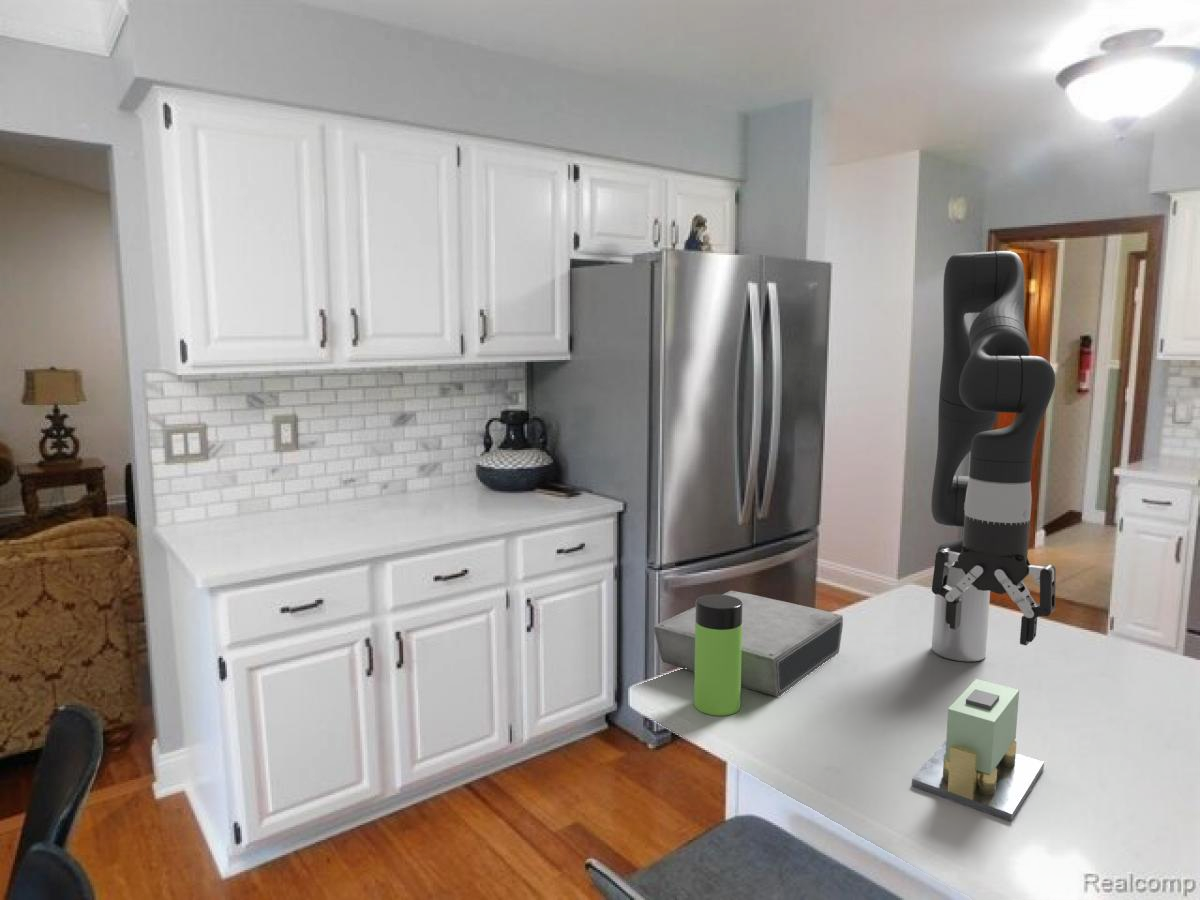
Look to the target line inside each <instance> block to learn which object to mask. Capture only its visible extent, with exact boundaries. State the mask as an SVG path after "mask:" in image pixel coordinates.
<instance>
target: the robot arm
mask: <svg viewBox="0 0 1200 900" xmlns="http://www.w3.org/2000/svg"><path fill="white" fill-rule="evenodd" d="M1024 268H1025V267H1024V264H1023V261H1022V258H1021V257H1020V256H1019V255H1018V254H1017V253H1016V252H1013V251H1008V250H996V251H980V252H978V251H977V252H962V253H955V254H953V255H951V256H950V257H949V258H948V259H947V262H946V265H945V268H944V275H943V291H942V292H943V294H942V295H943V299H942V300H943V302H942V305H943V352H942V362H941V371H940V372H941V375H940V384H939V394H938V395H939V397H938V398H939V399H938V414H937V415H938V416H937V417H938V418H937V419H938V420H937V421H938V423H937V425H938V426H937V432H938V433H937V452H936V459H935V468H934V469H935V470H934V476H933V483H932V484H933V485H932V492H931V513H932V518H933V520H934V521H935V522H936V523H937V524H938V525H939V524H940V525H943V526H951V527H960V528H962V527H963V531H962V533H963V534H962V535H963V536H962V538H958V539H954V540H950V541H945V542H942V543H941V544H940V545H939V546H937V547H938V548H937V552H936V553H935V560H934V568H933V576H932V583H931V591H932V593H933V594H934V603H933V605H934V606H933V619H932V620H933V622H932V623H933V624H932V634H931V635H932V637H931V638H932V639H931V651H933V653H935V654H936V655H938V656H940V657H942V658H945V659H949V660H953V661H958V662H978V661H982V660H984V659H985V658H986V656H987V655H986V654H987V640H988V629H989V628H988V627H989V614H990V613H989V612H990V599H991V598H990V597H991V592H993V593H995V594H997V595H1004V594H1008V596H1009V597H1010V598H1011V601H1012V602H1013V603H1015V604H1016V606H1017V607H1018V608H1019V609H1020V611H1021V612H1022V613H1021V614H1023V615H1022V616H1021V621H1020V622H1021V623H1020V637H1019V645H1022V646H1028V645H1029V644H1030V643H1032V641H1034V639H1035V638H1036V636H1037V628H1038V626H1037V625H1038V617H1049V616H1051V614H1052V613H1054V610H1056V578H1057V577H1056V573H1057V572H1056V567H1055V566H1054V565H1053V564H1046V565H1045V566H1043V565H1042V566H1041V565H1034V564H1031V563H1030V562H1029V561H1030V560H1029V557H1028V554H1029V541H1030V540H1029V539H1030V526H1031V512H1032V500H1033V499H1032V498H1033V497H1032V485H1031V483H1032V471H1033V456H1034V455H1033V454H1034V449H1035V448H1034V447H1035V444H1036V443H1035V442H1036V438H1037V436H1038V431H1039V429H1040V426H1041V423H1042V421H1043V419H1044V416H1045V413H1046V411H1047V408H1048V406H1049V404H1050V401H1051V399H1052V397H1053V393H1054V390H1055V388H1056V387H1055V386H1056V374H1055V370H1054V368H1053V366H1052V365H1051V363H1050V362H1049V361H1048V360H1047V359H1046V358H1044V357H1042V356H1038V355H1031V349H1030V343H1029V339H1028V335H1027V331H1026V328H1025V313H1026V312H1025V308H1026V284H1025V281H1026V280H1025V269H1024ZM976 313H977V314H978V313H979V314H978V315H977V316H976V317H975V319H973V321H972V324H971V326H970V328H968V326H967V323H966V319H965V315H966V314H976ZM999 413H1005V414H1006V413H1011V414H1012V413H1013V414H1018V415H1017V416H1016V418H1015V420H1014V421H1013V422H1012V423H1011V424H1009V425H1008V426H1006V427H1002V428H997V429H993V427H994V426H995V424H996V422H997V420H998V414H999ZM969 453H970V457H969V458H970V459H969V473H968V474H969V475H956V472H957V470H958V469H959V467H960V465H961V463H962V462H963V460H964V459H965V458H966V457H967V456H968V454H969ZM1028 575H1031V576H1032V577H1033V580H1034V582H1035V583H1036V584H1038V585H1039V603H1037V602H1036V601H1035V600H1034V598H1033V597H1032V595H1031V592H1030V590H1029V588H1028V587H1027V585H1026V584H1025V583H1024V579H1025V578H1027V576H1028Z"/></svg>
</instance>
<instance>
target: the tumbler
mask: <svg viewBox="0 0 1200 900" xmlns="http://www.w3.org/2000/svg"><path fill="white" fill-rule="evenodd" d="M695 607H696V614H695V672H694V683H693V684H694V685H693V688H694V689H693V690H694V691H693V693H694V694H693V695H694V696H693V698H694V699H693V705H694V707H695V708H696V709H697V710H698V711H699V712H701V713H704V714H707V715H711V716H717V717H720V716H721V717H724V716H730V715H733V714H735V713H737V712H738V711H739V710H740V708H741V691H742V688H741V650H742V607H743V604H742V601H741V600H739V599H738V598H735V597H732V596H728V595H722V594H718V593H717V594H707V595H706V594H705V595H702V596H699V597H697V599H696V600H695Z"/></svg>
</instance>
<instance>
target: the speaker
mask: <svg viewBox="0 0 1200 900" xmlns="http://www.w3.org/2000/svg"><path fill="white" fill-rule="evenodd" d="M721 595H728V596H732V597H735V598H738V599H739V600H741V601H742V604H743V607H742V650H741V687H742V688H745V689H748V690H751V689H752V691H756V692H758V691H759V692H758V693H762V694H765V695H769V696H772V697H776V698H779V697H778V696H781V695H782V694H783V693H784V692H786V691H787V690H789V689H790V688H791V687H793V686H794V685H795V684H797V683H798V682H799V681H801V680H802V679H803V678H805V677H806V676H807V675H809V674H810V673H811V672H813V671H814V670H815V669H817V668H818V667H819V666H821V665H822V664H823V663H825V662H826V661H828V660H829V659H830V660H832V659H833V658H834V657H836V656H837V655H838V654H839V652H840V650H841V649H840V648H841V640H842V634H843V633H842V632H843V626H844V618H843V614H839V613H836V612H835V613H834V612H831V611H826V610H823V609H819V608H815V607H809V606H805V605H800V604H796V603H792V602H787V601H784V600H778V599H773V598H769V597H765V596H760V595H755V594H751V593H747V592H746V593H745V592H741V591H736V590H729V591H727V592H724V593H722V594H721ZM695 614H696V606H694V607H691V608H690V609H688V610H685V611H683V612H680V613H679V614H677V615H674V616H671V617H670V618H668V619H666V620H663V621H661V622H659V623H657V624H655V625H654V628H653V629H654V635H655V639H656V642H657V648H658V651H659V655H660V659H661V661H662V663H665V664H668V665H672V666H674V667H678V668H680V669H682V670H686V671H690V672H693V673H695ZM836 654H837V655H836ZM835 655H836V656H835ZM832 657H833V658H832ZM831 658H832V659H831ZM830 660H829V661H830ZM829 661H828V662H829ZM826 663H827V662H826ZM826 663H825V664H826ZM823 665H824V664H823ZM823 665H822V666H823ZM822 666H821V667H822ZM685 668H687V669H685ZM819 668H820V667H819ZM819 668H818V669H819ZM818 669H817V670H818ZM815 671H816V670H815ZM815 671H814V672H815ZM814 672H813V673H814ZM811 674H812V673H811ZM811 674H810V675H811ZM810 675H809V676H810ZM807 677H808V676H807ZM807 677H806V678H807ZM806 678H805V679H806ZM803 680H804V679H803ZM803 680H802V681H803ZM802 681H801V682H802ZM799 683H800V682H799ZM799 683H798V684H799ZM798 684H797V685H798ZM795 686H796V685H795ZM795 686H794V687H795ZM794 687H793V688H794ZM791 689H792V688H791ZM791 689H790V690H791ZM790 690H789V691H790ZM787 692H788V691H787ZM787 692H786V693H787ZM783 695H784V694H783ZM783 695H782V696H783ZM782 696H781V697H782Z"/></svg>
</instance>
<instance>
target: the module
mask: <svg viewBox="0 0 1200 900" xmlns="http://www.w3.org/2000/svg"><path fill="white" fill-rule="evenodd" d="M1019 697H1020V689H1017V688H1013V687H1009V686H1005V685H1001V684H997V683H993V682H989V681H985V680H982V679H977V678H975V679H974V680H973V681H972V683H970V685H969V686H968V687H966V689H965V690H964V691H963V692H962V694H960V695H959V696H958V698H957V699H955V701H954V702H953V703H952V704H951V705H950V706H949V707H948V710H947V725H946V739H945V741H946V754H945V760H947V761H950V747H951V746H952V745H953V744H955V745H958V746H961V747H964V748H967V749H971V750H974V751H977V752H978V760H977V770H978V771H981V772H984V773H987V774H990V775H991V774H992V772H993V771H994V769H995V768H996V766H997V765H998V764H999V762H1000V761H1001V759H1002V758H1003V756H1004V755H1005V753H1006V752H1007V750H1008V749H1009V748H1010V746H1011V745H1012V743H1013V742H1014V740H1015V741H1016V736H1017V728H1018V727H1017V725H1018V712H1019Z"/></svg>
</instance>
